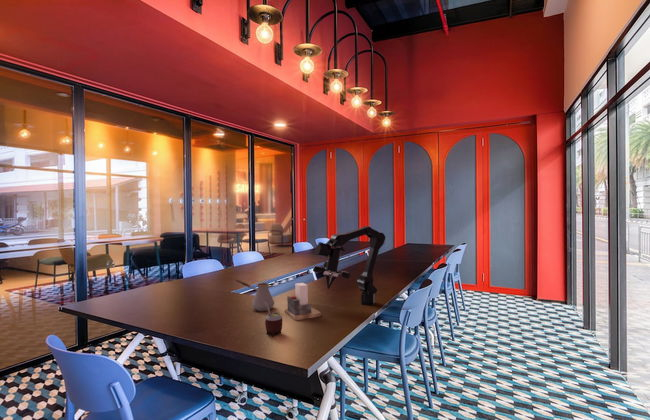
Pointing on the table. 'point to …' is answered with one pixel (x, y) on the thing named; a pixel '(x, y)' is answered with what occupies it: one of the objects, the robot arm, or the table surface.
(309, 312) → the stepped stone block model
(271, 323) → the mate gourd
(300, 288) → the white tall block
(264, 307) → the coffee pot
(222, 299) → the table surface
